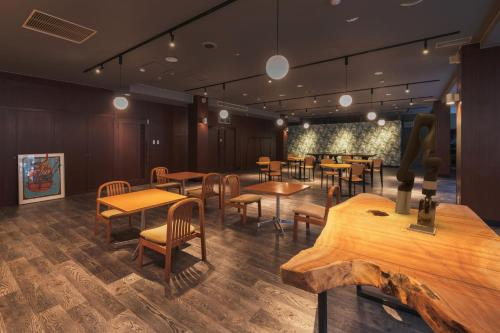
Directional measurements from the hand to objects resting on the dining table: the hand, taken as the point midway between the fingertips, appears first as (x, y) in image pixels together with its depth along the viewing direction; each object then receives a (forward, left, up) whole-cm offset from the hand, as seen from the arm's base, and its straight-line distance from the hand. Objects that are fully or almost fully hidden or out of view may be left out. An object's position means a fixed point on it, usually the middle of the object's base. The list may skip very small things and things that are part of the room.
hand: (426, 211), depth 162 cm
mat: (-1, -13, -9) cm, 16 cm away
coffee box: (0, 0, -9) cm, 9 cm away
